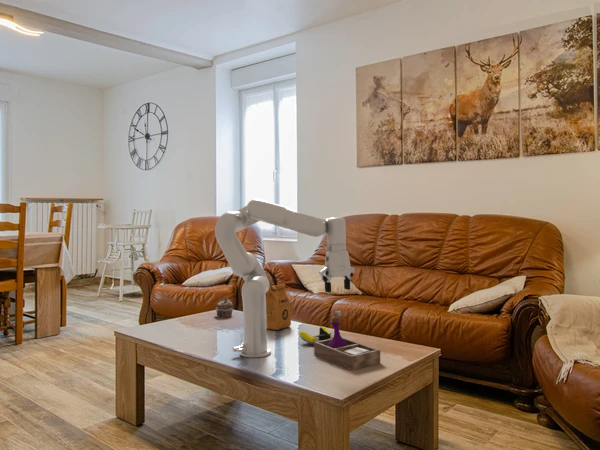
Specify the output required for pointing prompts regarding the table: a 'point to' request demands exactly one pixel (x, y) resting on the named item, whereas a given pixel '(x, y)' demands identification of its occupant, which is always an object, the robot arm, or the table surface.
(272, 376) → the table surface
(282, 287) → the coffee package
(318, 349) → the divided wooden tray
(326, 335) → the gaming controller
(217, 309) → the cupcake
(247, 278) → the robot arm
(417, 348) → the table surface
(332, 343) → the perfume bottle
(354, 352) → the upper offcut
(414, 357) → the table surface
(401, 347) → the table surface
